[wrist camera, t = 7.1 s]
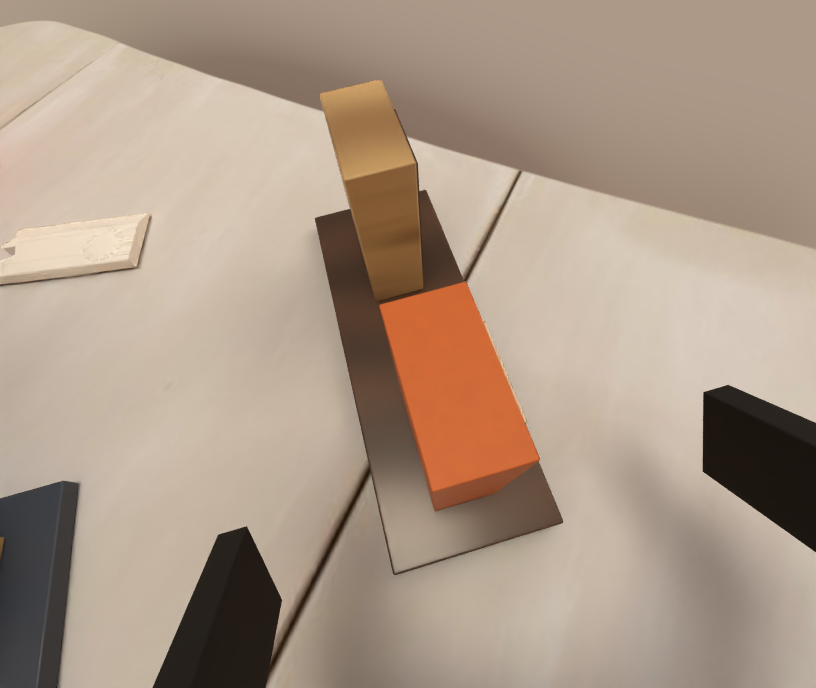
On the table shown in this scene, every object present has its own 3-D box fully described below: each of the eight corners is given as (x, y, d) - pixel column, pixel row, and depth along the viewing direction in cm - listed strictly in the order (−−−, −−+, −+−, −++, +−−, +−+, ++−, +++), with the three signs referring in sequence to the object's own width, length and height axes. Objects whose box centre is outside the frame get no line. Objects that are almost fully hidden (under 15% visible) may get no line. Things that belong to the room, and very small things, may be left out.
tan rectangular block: (355, 229, 26) (318, 93, 18) (403, 217, 26) (387, 76, 18) (375, 302, 23) (343, 180, 15) (428, 288, 24) (423, 160, 16)
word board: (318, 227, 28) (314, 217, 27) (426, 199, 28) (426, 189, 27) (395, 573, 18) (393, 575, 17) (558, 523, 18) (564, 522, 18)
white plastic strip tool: (-43, 238, 30) (-59, 228, 29) (152, 215, 29) (142, 204, 28) (-75, 294, 27) (-94, 284, 26) (136, 269, 27) (125, 259, 26)
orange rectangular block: (401, 393, 21) (378, 304, 13) (460, 377, 21) (475, 278, 13) (434, 511, 18) (431, 493, 10) (502, 491, 18) (552, 457, 10)
